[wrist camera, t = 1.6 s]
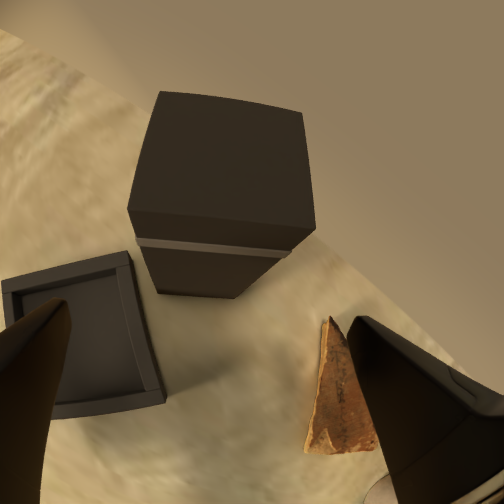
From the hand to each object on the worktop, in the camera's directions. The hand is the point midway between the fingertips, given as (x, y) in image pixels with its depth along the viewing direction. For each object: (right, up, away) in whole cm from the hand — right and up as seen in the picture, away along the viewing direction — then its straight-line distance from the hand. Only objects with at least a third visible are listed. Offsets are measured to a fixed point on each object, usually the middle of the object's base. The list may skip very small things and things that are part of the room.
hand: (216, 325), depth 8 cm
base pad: (-11, -4, +9) cm, 15 cm away
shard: (+7, -10, +12) cm, 17 cm away
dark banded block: (-3, +1, +13) cm, 13 cm away
